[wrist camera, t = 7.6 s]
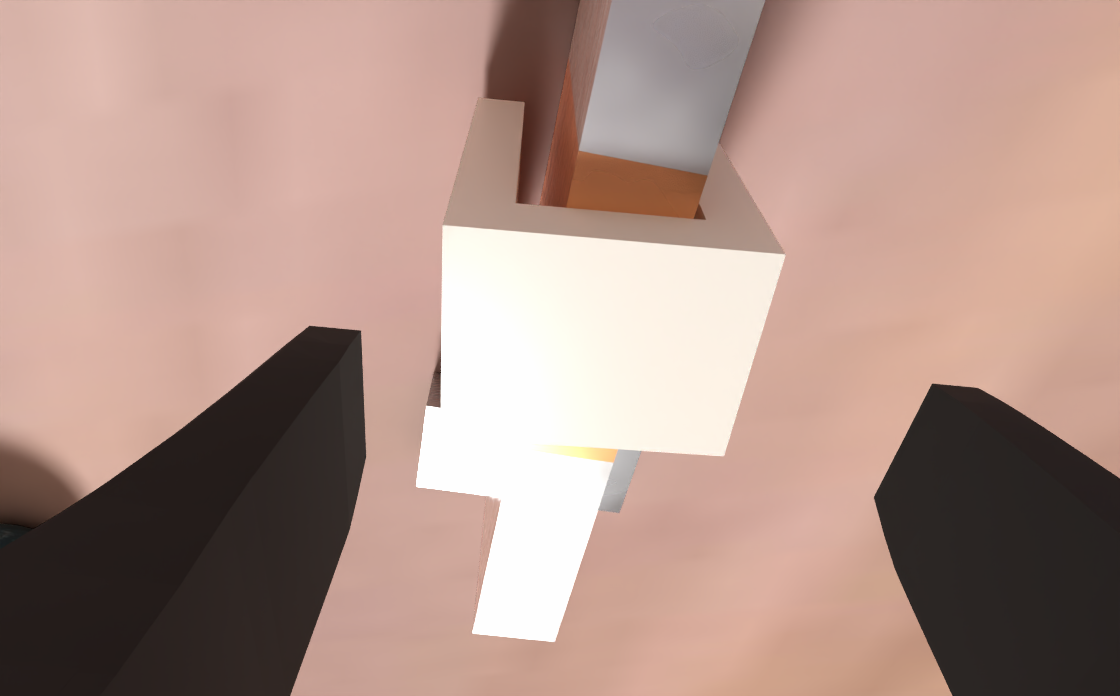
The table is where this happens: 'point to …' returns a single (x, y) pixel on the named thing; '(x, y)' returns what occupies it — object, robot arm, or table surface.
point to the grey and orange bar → (605, 185)
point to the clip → (596, 309)
